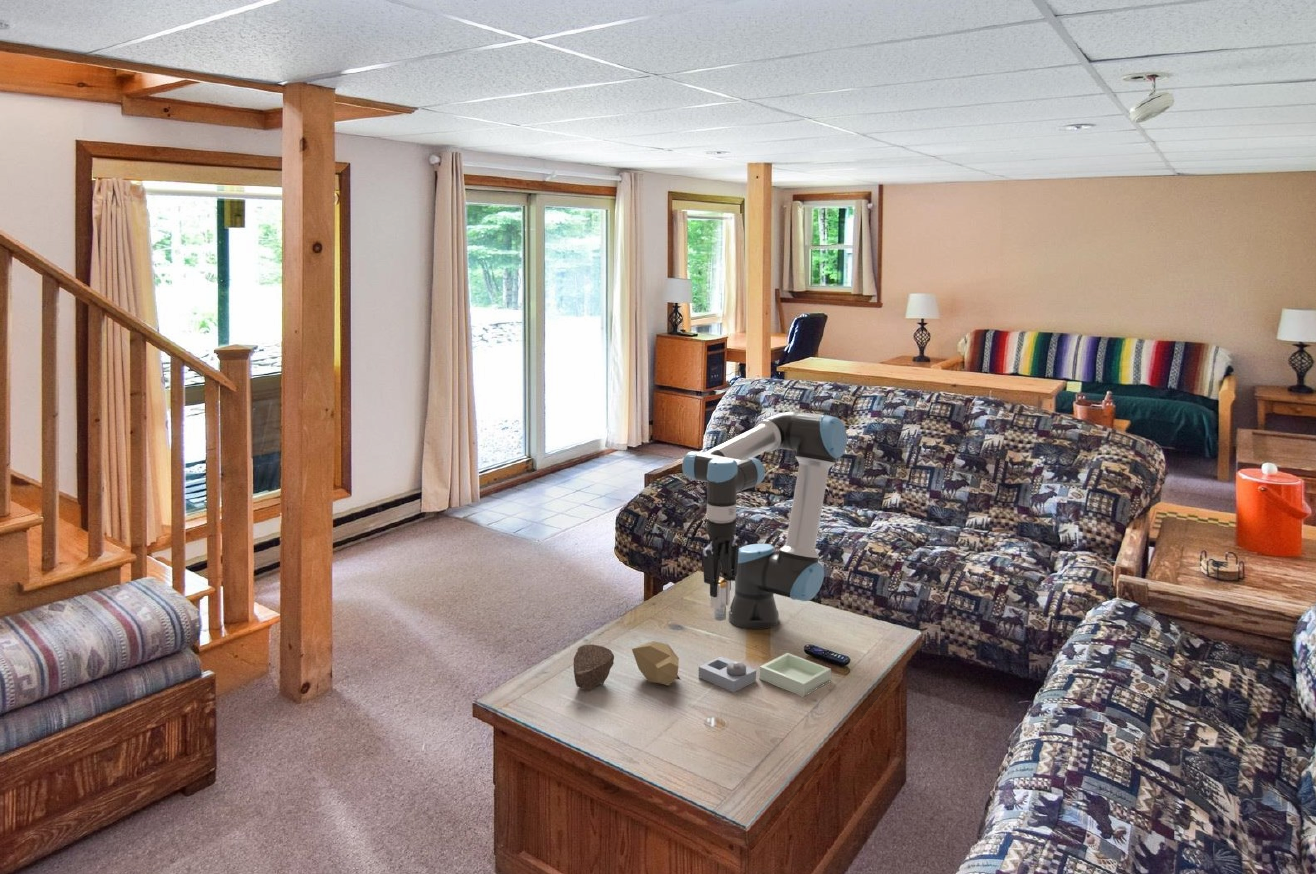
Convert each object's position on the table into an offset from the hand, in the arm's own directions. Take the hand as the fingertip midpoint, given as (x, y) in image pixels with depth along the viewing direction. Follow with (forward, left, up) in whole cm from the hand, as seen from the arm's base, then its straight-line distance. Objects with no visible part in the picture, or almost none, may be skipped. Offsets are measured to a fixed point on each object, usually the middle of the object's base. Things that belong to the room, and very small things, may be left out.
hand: (720, 605), depth 244 cm
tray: (+16, +12, -20) cm, 28 cm away
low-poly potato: (-8, -14, -20) cm, 26 cm away
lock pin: (0, 0, -4) cm, 4 cm away
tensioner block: (+3, 0, -20) cm, 20 cm away
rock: (-19, -28, -20) cm, 39 cm away
